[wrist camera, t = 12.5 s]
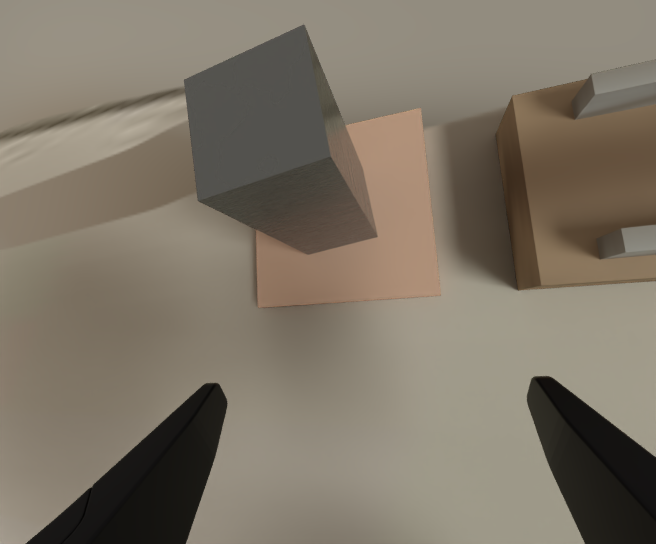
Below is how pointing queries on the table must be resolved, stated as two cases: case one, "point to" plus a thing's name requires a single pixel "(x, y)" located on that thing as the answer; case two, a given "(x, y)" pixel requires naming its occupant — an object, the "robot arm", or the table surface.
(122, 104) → the table surface
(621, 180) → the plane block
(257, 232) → the rubber mat
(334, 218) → the dark gray rectangular block
